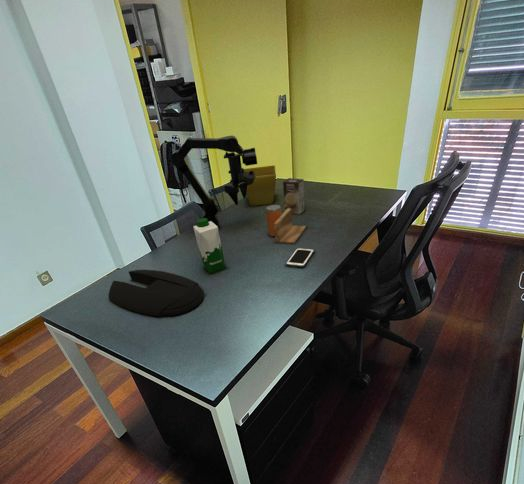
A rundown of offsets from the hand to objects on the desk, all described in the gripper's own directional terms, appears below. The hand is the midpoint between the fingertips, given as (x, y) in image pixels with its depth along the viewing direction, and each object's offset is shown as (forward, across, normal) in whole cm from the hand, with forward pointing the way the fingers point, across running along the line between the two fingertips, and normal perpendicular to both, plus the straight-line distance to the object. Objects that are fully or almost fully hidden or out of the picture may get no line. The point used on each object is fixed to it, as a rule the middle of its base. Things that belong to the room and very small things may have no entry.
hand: (240, 201), depth 164 cm
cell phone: (+12, -31, -40) cm, 52 cm away
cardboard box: (+12, +34, +4) cm, 36 cm away
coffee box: (+12, +20, -21) cm, 31 cm away
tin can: (+12, -8, -21) cm, 25 cm away
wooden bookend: (+12, -9, -29) cm, 32 cm away
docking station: (+12, -68, +5) cm, 69 cm away
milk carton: (+12, -44, -7) cm, 47 cm away
